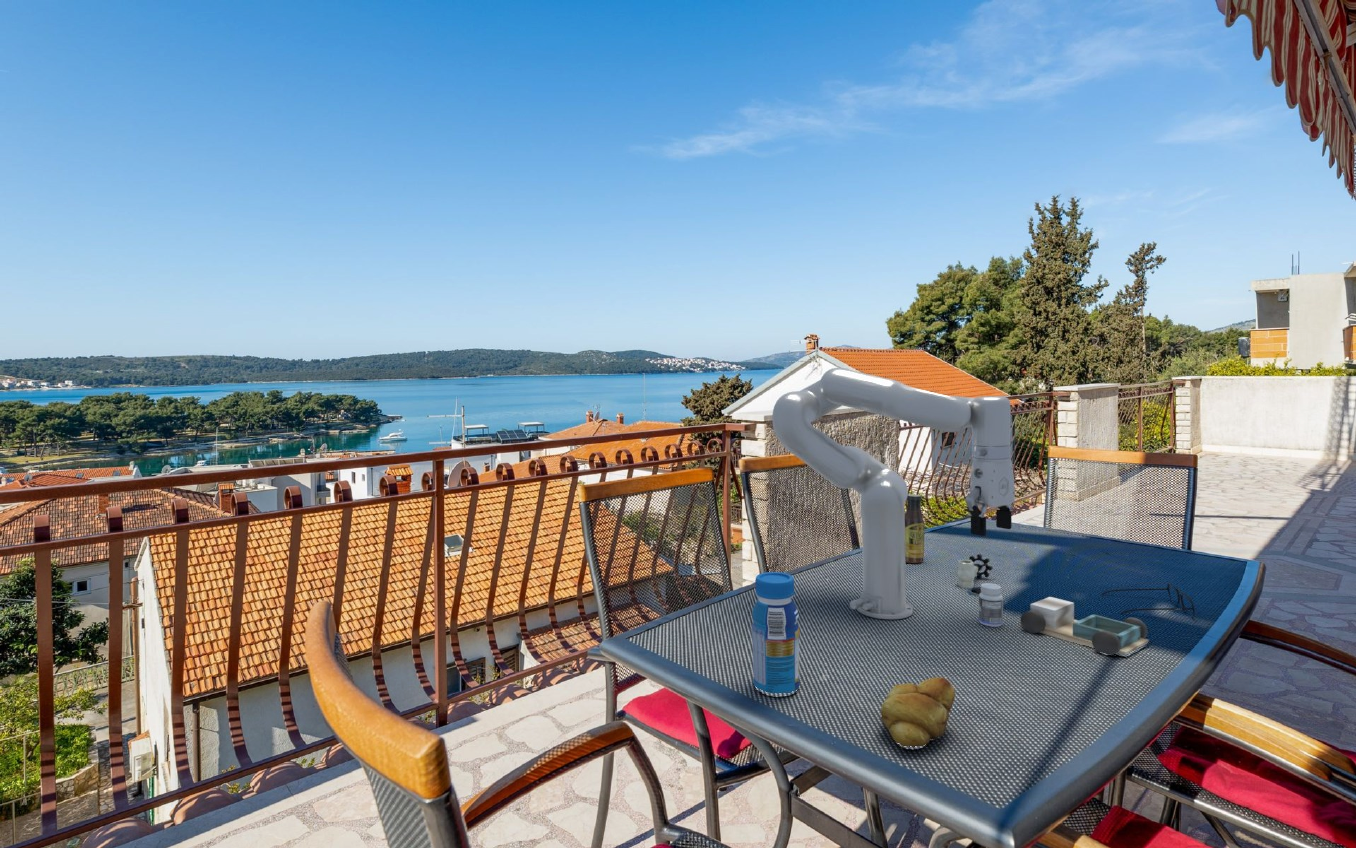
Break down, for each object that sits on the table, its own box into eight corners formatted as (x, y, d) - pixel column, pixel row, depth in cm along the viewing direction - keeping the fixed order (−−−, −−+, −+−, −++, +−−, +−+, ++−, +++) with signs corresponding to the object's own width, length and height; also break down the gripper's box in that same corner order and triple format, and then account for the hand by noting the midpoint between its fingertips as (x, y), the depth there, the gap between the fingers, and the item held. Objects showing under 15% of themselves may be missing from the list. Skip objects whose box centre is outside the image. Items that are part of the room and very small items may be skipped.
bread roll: (929, 765, 90) (928, 709, 89) (863, 741, 96) (863, 689, 96) (959, 727, 100) (959, 676, 99) (898, 707, 106) (898, 660, 105)
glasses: (1196, 623, 139) (1194, 600, 139) (1117, 624, 144) (1114, 602, 144) (1170, 601, 153) (1168, 581, 153) (1098, 603, 158) (1096, 583, 158)
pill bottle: (982, 617, 144) (982, 581, 144) (1005, 622, 141) (1005, 584, 141) (976, 624, 141) (976, 586, 140) (999, 629, 138) (999, 590, 137)
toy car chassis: (1121, 660, 121) (1122, 633, 121) (1016, 628, 138) (1016, 604, 137) (1152, 643, 128) (1152, 618, 128) (1049, 615, 145) (1049, 592, 144)
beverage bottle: (742, 688, 114) (740, 577, 113) (771, 672, 120) (769, 567, 118) (781, 704, 108) (779, 587, 107) (810, 687, 114) (808, 576, 112)
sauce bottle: (910, 565, 187) (909, 497, 186) (897, 559, 193) (896, 494, 192) (929, 563, 188) (929, 496, 187) (916, 557, 194) (915, 492, 193)
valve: (976, 591, 163) (992, 580, 171) (976, 565, 162) (992, 556, 171) (949, 586, 167) (967, 575, 176) (949, 561, 167) (967, 552, 175)
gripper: (984, 458, 131) (985, 540, 132) (1029, 451, 141) (1029, 528, 142) (951, 455, 137) (952, 534, 138) (996, 449, 147) (996, 523, 148)
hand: (991, 531), depth 140 cm, fingers open, 9 cm apart
